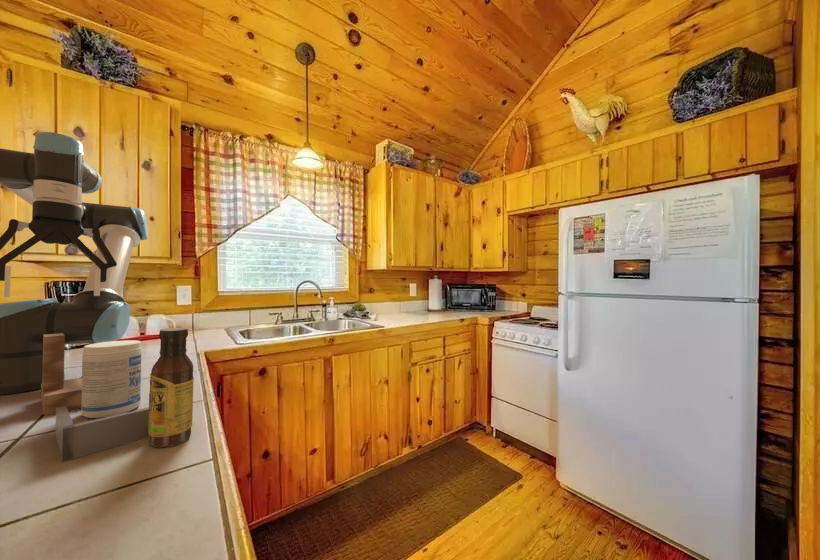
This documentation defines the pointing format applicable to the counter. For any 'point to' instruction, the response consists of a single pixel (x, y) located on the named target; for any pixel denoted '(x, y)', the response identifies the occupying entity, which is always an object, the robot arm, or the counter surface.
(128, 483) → the counter surface
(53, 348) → the wooden bracket
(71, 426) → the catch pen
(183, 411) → the sauce bottle
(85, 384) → the supplement tub
